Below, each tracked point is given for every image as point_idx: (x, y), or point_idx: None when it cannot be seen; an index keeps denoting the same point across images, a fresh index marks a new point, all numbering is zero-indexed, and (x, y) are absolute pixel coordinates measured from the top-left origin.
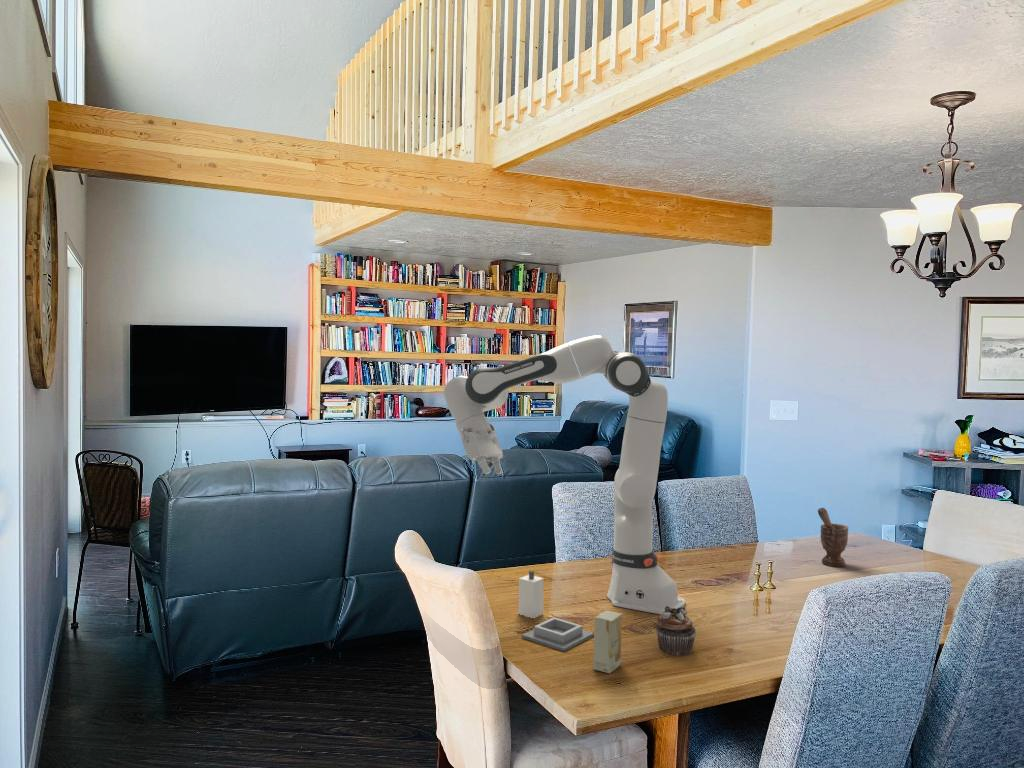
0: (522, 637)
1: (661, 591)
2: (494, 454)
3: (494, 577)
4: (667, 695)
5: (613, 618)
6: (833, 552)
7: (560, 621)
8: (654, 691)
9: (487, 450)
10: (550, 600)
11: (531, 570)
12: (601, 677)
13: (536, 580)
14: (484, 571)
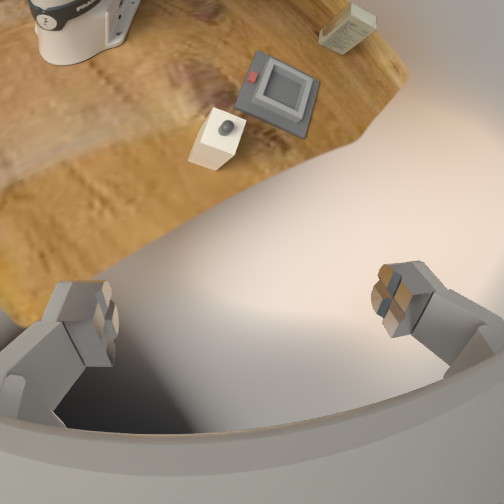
0: (302, 138)
1: None
2: (175, 455)
3: (44, 298)
4: None
5: (368, 12)
6: None
7: (265, 86)
8: None
9: (480, 439)
10: (124, 140)
11: (223, 126)
12: (351, 50)
13: (233, 117)
14: None
